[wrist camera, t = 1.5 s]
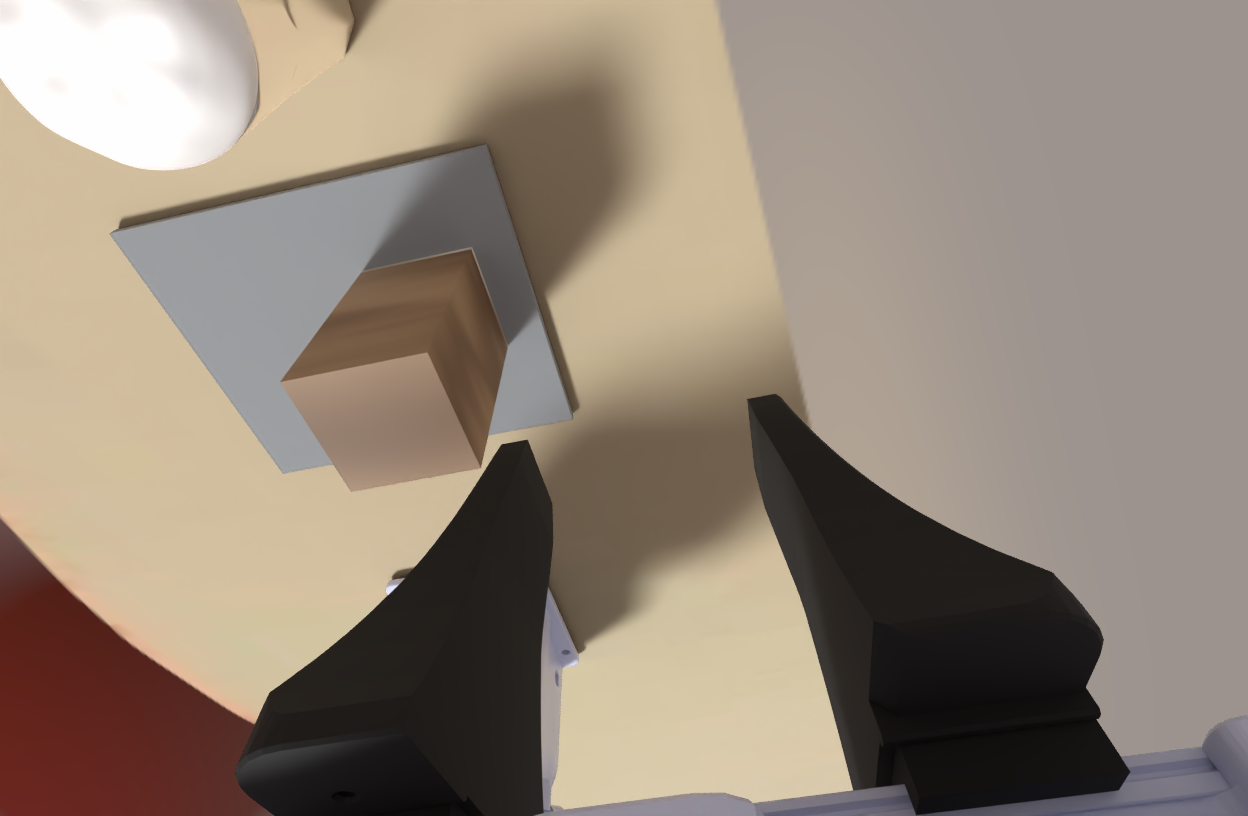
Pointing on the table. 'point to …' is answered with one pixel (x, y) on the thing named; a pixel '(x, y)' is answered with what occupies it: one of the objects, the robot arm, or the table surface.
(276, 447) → the mat
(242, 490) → the table surface
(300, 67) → the milkshake
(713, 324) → the table surface
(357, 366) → the walnut block
